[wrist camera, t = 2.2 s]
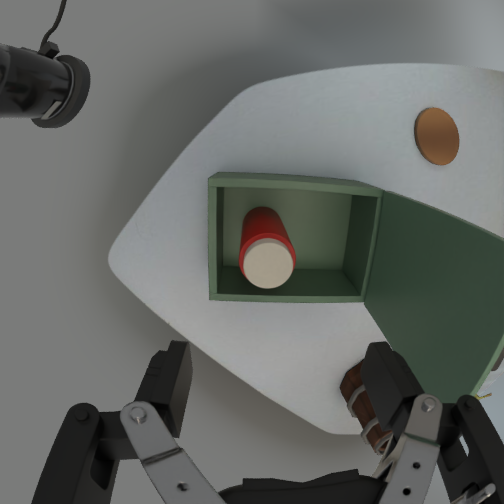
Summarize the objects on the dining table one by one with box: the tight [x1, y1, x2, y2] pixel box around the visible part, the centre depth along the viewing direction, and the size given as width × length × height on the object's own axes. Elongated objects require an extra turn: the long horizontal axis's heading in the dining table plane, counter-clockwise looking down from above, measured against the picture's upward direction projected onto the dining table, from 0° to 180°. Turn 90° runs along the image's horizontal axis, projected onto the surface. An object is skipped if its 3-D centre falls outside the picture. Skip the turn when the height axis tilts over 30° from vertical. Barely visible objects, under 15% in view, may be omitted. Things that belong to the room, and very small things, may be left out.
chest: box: [208, 172, 385, 303], centre depth 30 cm, size 17×12×8 cm
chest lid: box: [364, 191, 504, 403], centre depth 18 cm, size 17×12×5 cm
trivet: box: [414, 108, 459, 165], centre depth 28 cm, size 8×8×1 cm
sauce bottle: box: [239, 207, 296, 288], centre depth 27 cm, size 5×5×12 cm
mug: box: [340, 361, 393, 455], centre depth 35 cm, size 16×12×15 cm
